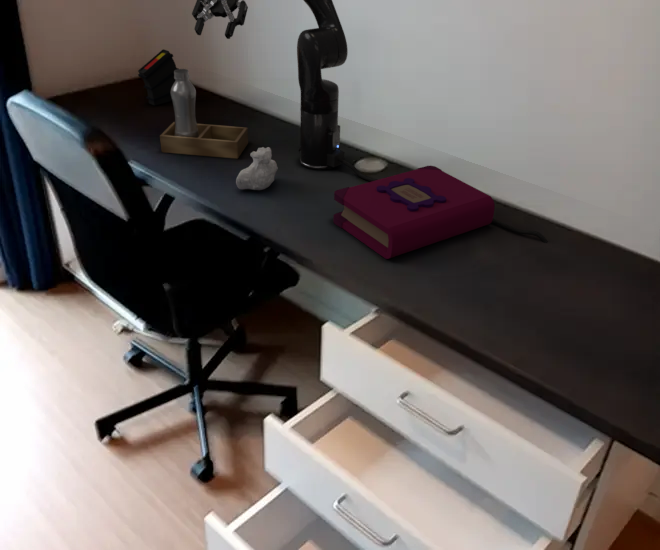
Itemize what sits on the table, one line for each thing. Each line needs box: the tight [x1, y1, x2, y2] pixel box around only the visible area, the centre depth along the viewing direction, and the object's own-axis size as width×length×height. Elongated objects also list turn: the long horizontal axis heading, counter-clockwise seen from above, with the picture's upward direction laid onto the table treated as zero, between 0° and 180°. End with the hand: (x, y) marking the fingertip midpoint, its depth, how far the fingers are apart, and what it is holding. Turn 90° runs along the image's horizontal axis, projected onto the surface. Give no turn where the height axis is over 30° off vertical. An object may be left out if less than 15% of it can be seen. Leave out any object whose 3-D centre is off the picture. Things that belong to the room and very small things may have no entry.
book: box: [332, 165, 496, 260], centre depth 154 cm, size 21×28×8 cm
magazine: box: [137, 49, 180, 107], centre depth 217 cm, size 4×13×15 cm, turn 138°
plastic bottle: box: [170, 68, 199, 138], centre depth 185 cm, size 6×7×20 cm
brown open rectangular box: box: [159, 121, 249, 160], centre depth 188 cm, size 20×11×4 cm, turn 81°
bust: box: [235, 146, 279, 191], centre depth 167 cm, size 12×8×11 cm
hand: (212, 35), depth 188 cm, fingers open, 8 cm apart
